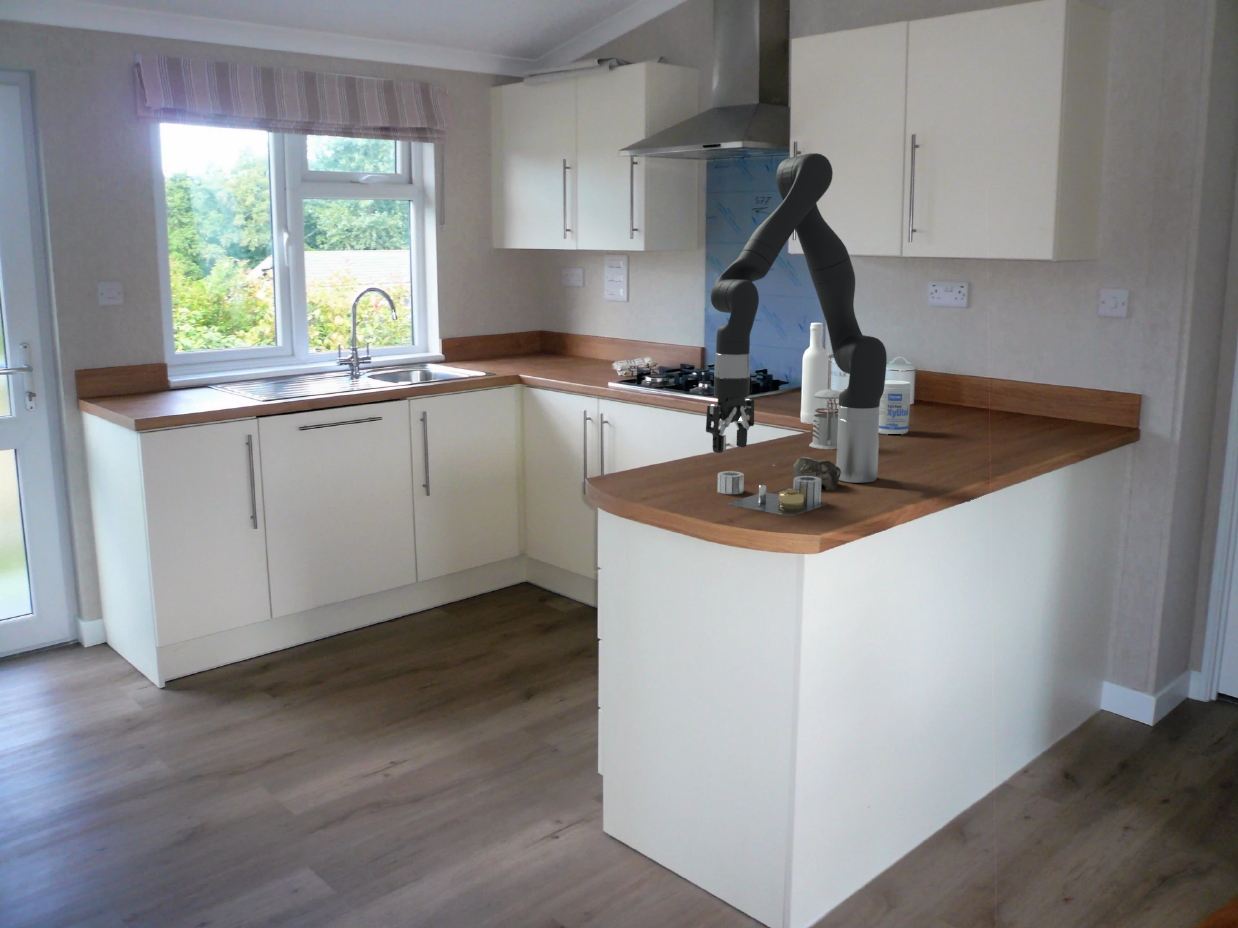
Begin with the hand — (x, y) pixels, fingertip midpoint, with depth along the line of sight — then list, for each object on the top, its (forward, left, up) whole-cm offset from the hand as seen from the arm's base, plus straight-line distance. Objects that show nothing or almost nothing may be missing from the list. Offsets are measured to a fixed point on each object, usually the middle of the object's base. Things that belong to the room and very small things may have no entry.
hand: (729, 449), depth 232 cm
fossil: (-17, +11, -11) cm, 23 cm away
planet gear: (0, 0, -10) cm, 10 cm away
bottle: (-95, -37, -11) cm, 102 cm away
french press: (-64, -14, -11) cm, 66 cm away
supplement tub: (-94, -11, -11) cm, 95 cm away
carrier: (+3, +14, -10) cm, 18 cm away
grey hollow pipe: (-2, +18, -9) cm, 21 cm away
